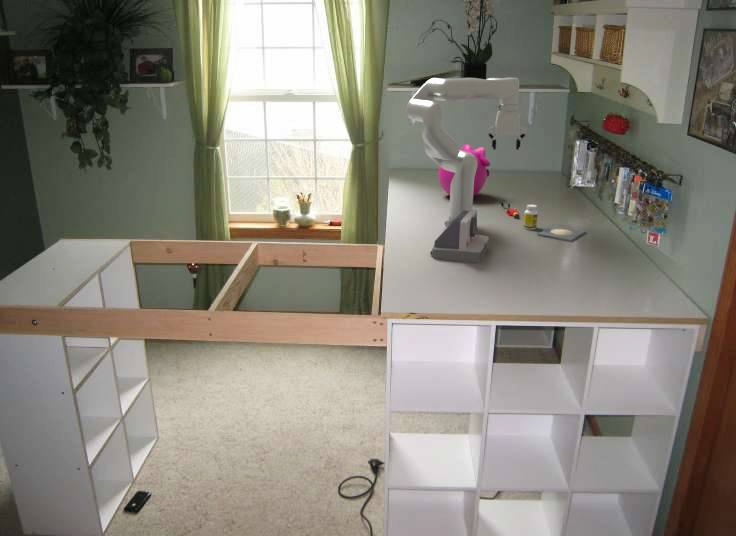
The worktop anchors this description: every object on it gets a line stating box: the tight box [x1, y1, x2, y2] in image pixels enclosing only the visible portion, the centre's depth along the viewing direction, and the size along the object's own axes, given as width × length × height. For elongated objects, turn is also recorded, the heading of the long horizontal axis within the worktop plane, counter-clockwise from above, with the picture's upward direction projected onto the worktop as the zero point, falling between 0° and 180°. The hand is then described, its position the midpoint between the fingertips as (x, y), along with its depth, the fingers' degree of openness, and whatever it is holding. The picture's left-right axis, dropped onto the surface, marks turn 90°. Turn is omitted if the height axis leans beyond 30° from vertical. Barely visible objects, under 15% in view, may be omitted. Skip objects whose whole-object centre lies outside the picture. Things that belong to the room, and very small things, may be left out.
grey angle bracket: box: [430, 209, 489, 264], centre depth 243 cm, size 21×21×15 cm
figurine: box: [438, 143, 491, 197], centre depth 324 cm, size 23×24×25 cm
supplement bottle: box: [522, 204, 539, 231], centre depth 275 cm, size 5×5×10 cm
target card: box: [537, 224, 587, 243], centre depth 269 cm, size 16×14×1 cm
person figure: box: [500, 202, 520, 219], centre depth 299 cm, size 5×4×18 cm
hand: (505, 149), depth 281 cm, fingers open, 9 cm apart
